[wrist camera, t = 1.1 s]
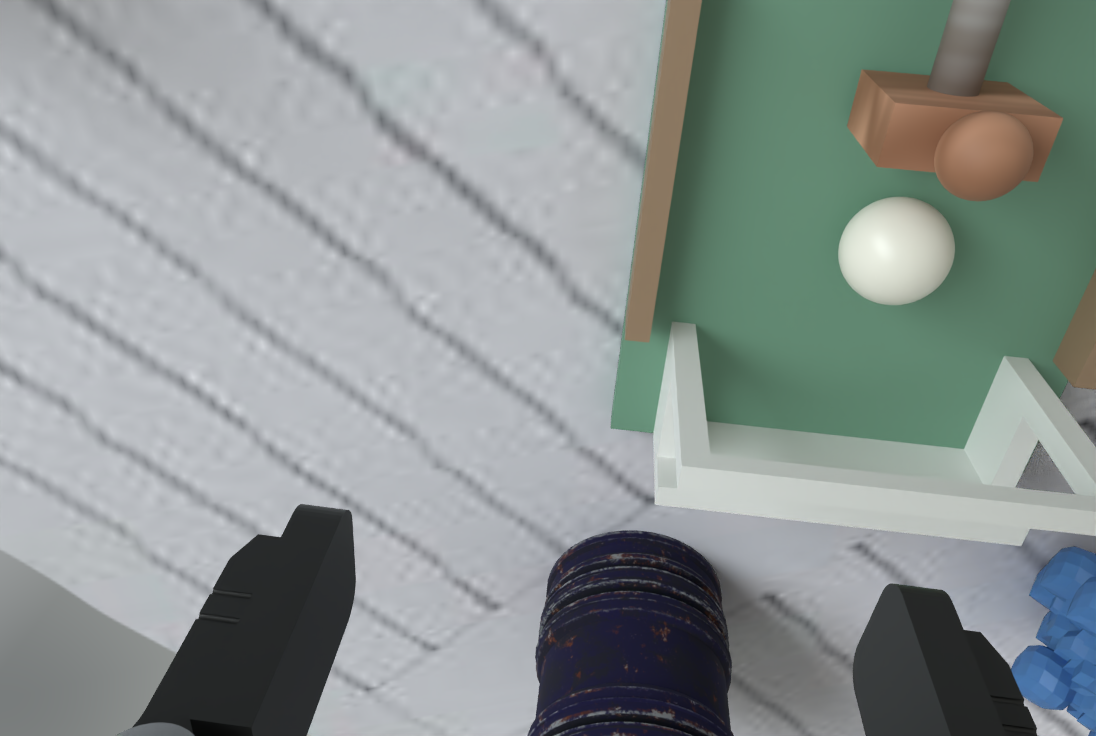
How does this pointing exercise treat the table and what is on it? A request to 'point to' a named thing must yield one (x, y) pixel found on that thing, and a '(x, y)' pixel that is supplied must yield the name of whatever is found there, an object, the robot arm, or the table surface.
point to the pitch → (828, 300)
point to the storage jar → (632, 641)
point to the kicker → (956, 113)
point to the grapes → (1064, 639)
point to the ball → (896, 250)
